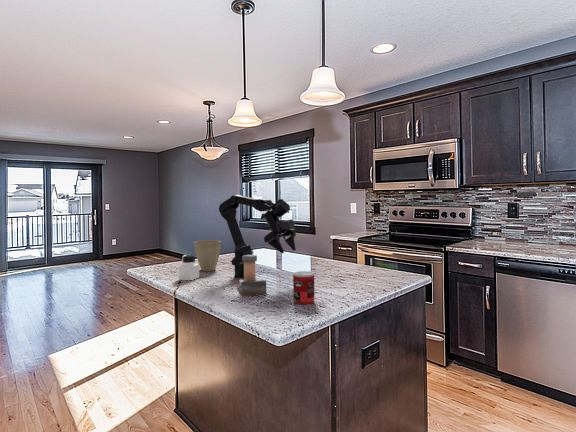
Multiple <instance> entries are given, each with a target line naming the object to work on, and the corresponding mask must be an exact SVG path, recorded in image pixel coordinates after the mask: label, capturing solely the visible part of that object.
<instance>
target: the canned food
mask: <svg viewBox="0 0 576 432" xmlns="http://www.w3.org/2000/svg"><path fill="white" fill-rule="evenodd" d="M292 283H293V284H292V285H293V286H292V287H293V288H292V290H293V292H292V294H293V302H294V303H295V304H297V305H311V304H314V302H315V273H314V272H313V271H309V270H308V271H306V270H303V271H302V270H301V271H300V270H299V271H296V272H293V274H292Z"/></svg>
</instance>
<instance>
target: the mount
mask: <svg viewBox="0 0 576 432" xmlns="http://www.w3.org/2000/svg"><path fill="white" fill-rule="evenodd" d="M243 280H244V279H239V280H238V283H239V284H237V290H238V291H239V292H240V294H241V296H242V297H249V296H259V295H267V279H259V278H257V277H256V280H255V281H243Z"/></svg>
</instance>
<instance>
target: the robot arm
mask: <svg viewBox="0 0 576 432" xmlns="http://www.w3.org/2000/svg"><path fill="white" fill-rule="evenodd" d="M240 205H243V206H247V207H251V208H253V209H255V210H256V211H259V212H263V213H261V216H260V220H264V221H266V224H267V226H268V227H267V229H268V231H269V230H270V232H269V233H267V234H266V235H264V237H263V241H264V242H265V244H268V245H269V246H271V247H272V248H274V249H275V250H277V251H278V252H279V253H281V254H284V253H285V251H284V249H283V246H282V244H281V241H280V238H283V240H284V242H285V243H286V245H288V246H289V247H290V249H291V250H292V251H293V252H294V251H296V250H297V249H296V243H295V237H296V236H297V233H298V232H297V229H296V228H295V225H296V222H295V221H294V219H291V218H290V219H288V220H287V221H283V220H280V219H279V218H282V217H283V216H284V215H286V214H287V213H288V212H289V211H290V210H291V206H290V205H289V203H287V202H286V201H285V200H284V199H283V198H279V199H278V200H277V202H275V203H274V202H273V201H272V200H271V199H270V198H264V199H263V198H261V199H260V198H258V199H257V198H254V197H253V198H252V197H249V196H243V195H241V194H233V195H231V196H230V197H229V198H228V199H225V200H224V201H223V202H221V203H220V204H219V206H218V212H219V213H220V215H221V216H220V217H222V218H223V219H224V220H225V221H226V224H227V226H228V230H229V232H230V236H231V237H232V241H233V244H234V252H233V253H234V257H233V258H232V260H230V262H231V265H232V266H234V276H233V278H244V262H243V261H242V256H244V255H253V250H252V248H251V245H250V244H246V243H245V240H244V238H243V235H242V232H241V229H240V226H239V223H238V220H237V218H236V216H237V213H238V212H237V209H238V208H239V206H240ZM264 212H265V213H264Z"/></svg>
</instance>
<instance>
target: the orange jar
mask: <svg viewBox="0 0 576 432" xmlns="http://www.w3.org/2000/svg"><path fill="white" fill-rule="evenodd" d="M242 261H243V262H244V277H243V278H244V279H242V280H243V281H255V280H256V278H257V277H256V275H257V274H256V273H257V272H256V269H257V268H256V262H257V261H258V256H257V255H256V254H252V255H244V256H242Z"/></svg>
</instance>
